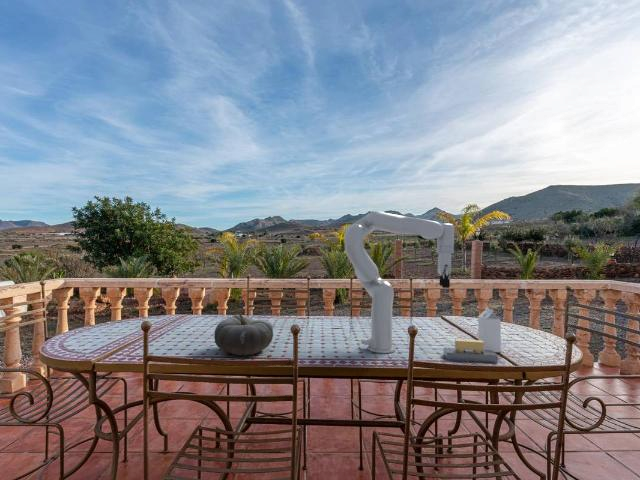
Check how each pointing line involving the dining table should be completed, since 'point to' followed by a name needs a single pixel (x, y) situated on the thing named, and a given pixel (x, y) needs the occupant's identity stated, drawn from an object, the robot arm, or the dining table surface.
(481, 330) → the milk carton
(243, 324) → the gourd
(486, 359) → the grey block with holes
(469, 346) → the clip
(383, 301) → the robot arm
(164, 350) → the dining table surface
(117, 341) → the dining table surface
